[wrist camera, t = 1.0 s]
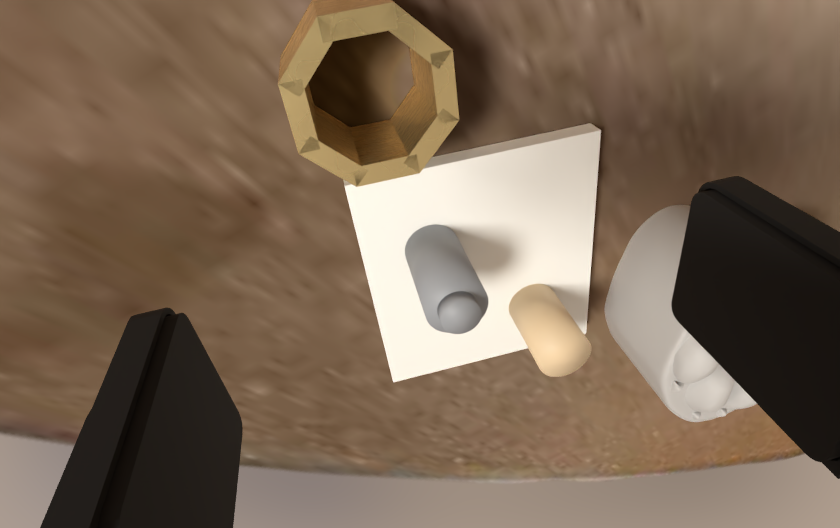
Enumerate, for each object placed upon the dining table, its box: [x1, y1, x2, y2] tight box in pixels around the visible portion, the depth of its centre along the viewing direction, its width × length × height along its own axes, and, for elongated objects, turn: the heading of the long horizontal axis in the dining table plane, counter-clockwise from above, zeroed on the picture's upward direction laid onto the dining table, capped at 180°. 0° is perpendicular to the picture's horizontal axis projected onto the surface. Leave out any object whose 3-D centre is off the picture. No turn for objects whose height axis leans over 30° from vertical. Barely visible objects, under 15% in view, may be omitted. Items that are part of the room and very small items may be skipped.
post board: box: [343, 123, 601, 382], centre depth 29 cm, size 14×15×8 cm
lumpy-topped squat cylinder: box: [605, 205, 757, 422], centre depth 33 cm, size 10×13×9 cm
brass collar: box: [278, 0, 459, 187], centre depth 22 cm, size 7×7×5 cm
